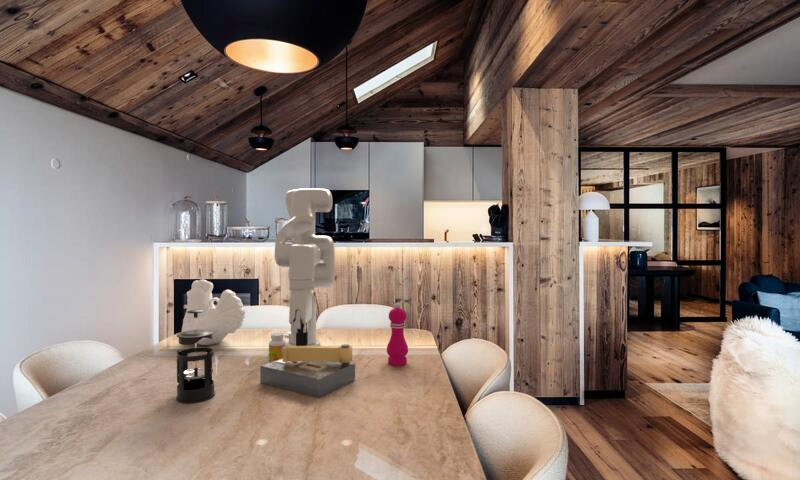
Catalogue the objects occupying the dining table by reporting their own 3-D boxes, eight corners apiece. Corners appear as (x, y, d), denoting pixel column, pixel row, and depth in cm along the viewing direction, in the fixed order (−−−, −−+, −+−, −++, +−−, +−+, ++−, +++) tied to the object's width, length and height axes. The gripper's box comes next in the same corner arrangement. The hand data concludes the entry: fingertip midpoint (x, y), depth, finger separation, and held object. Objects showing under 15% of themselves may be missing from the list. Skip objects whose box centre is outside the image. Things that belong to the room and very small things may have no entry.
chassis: (260, 382, 125) (260, 364, 125) (299, 368, 139) (299, 351, 139) (318, 398, 114) (318, 377, 114) (355, 380, 128) (355, 362, 128)
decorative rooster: (172, 345, 166) (171, 280, 165) (206, 336, 180) (206, 276, 179) (220, 353, 155) (219, 284, 154) (252, 343, 169) (252, 280, 169)
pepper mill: (408, 360, 148) (409, 301, 148) (407, 366, 141) (407, 305, 141) (388, 359, 149) (388, 301, 148) (385, 365, 142) (385, 305, 141)
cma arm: (353, 361, 129) (353, 343, 129) (351, 365, 125) (351, 347, 125) (286, 360, 129) (286, 343, 129) (282, 364, 125) (282, 346, 125)
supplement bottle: (265, 364, 143) (265, 335, 142) (275, 360, 148) (275, 331, 147) (278, 366, 141) (278, 336, 140) (288, 361, 146) (288, 333, 145)
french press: (224, 393, 117) (224, 308, 116) (194, 406, 108) (194, 314, 108) (194, 386, 122) (194, 305, 121) (163, 398, 113) (163, 310, 113)
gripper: (295, 282, 139) (295, 339, 139) (282, 287, 124) (282, 351, 124) (319, 282, 139) (319, 339, 139) (308, 287, 124) (308, 351, 124)
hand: (301, 345), depth 132 cm, fingers closed
